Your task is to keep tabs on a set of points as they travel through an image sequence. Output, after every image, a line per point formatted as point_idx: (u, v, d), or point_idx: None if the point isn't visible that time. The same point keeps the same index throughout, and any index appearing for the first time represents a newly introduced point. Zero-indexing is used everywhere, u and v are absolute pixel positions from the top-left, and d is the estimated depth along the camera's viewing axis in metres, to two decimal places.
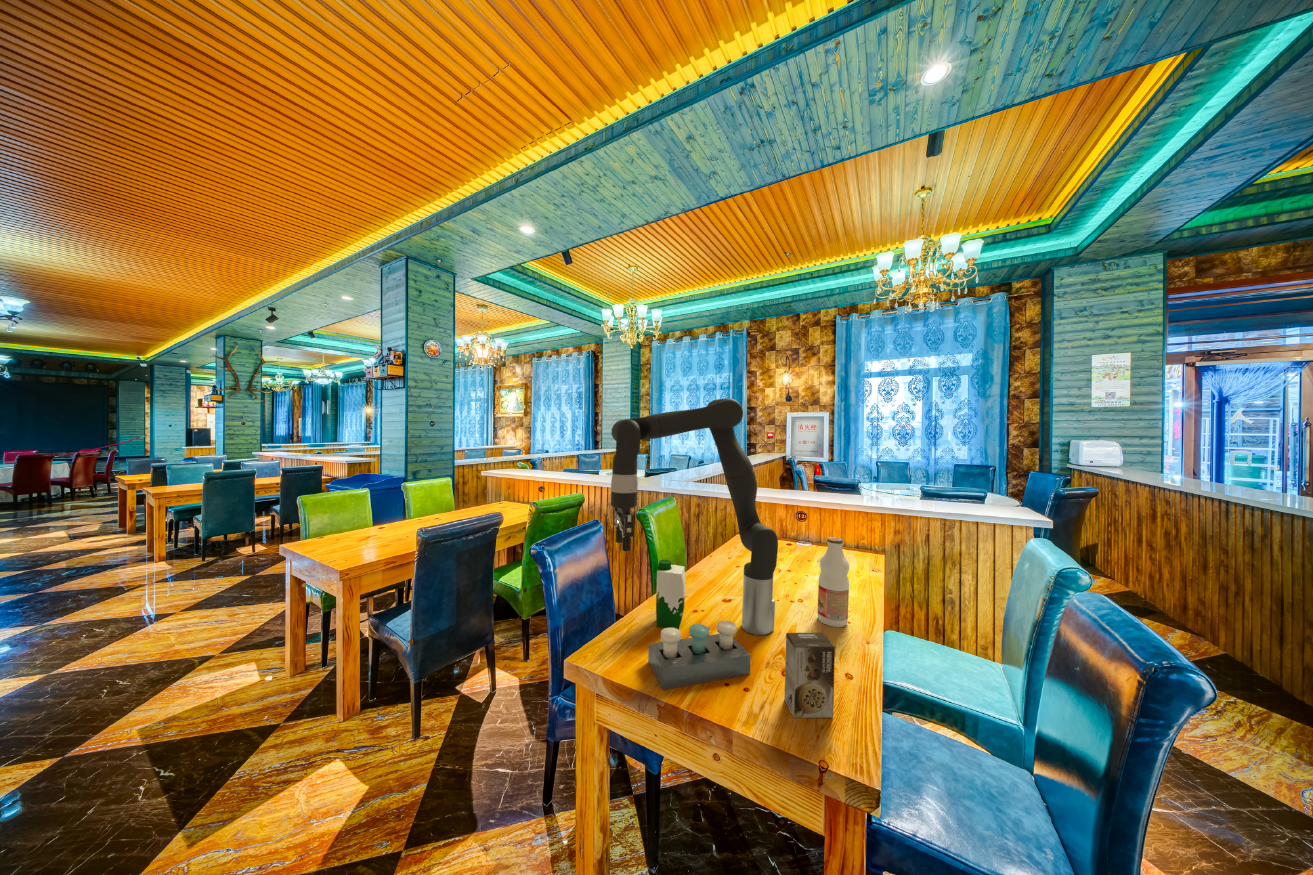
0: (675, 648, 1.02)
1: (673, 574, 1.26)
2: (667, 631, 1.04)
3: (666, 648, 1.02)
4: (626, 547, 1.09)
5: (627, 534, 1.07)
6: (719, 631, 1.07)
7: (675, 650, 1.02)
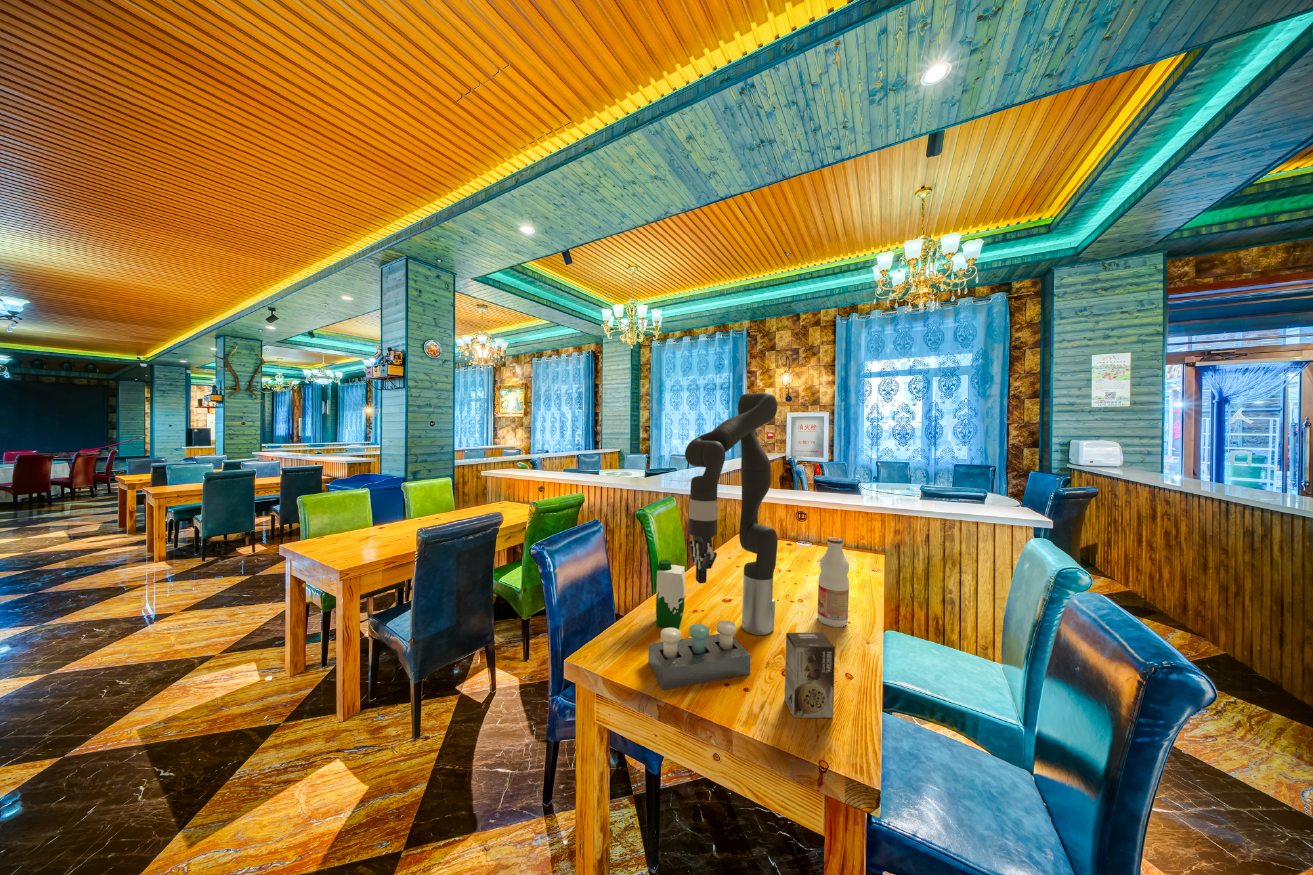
0: (675, 648, 1.02)
1: (673, 574, 1.26)
2: (667, 631, 1.04)
3: (666, 648, 1.02)
4: (702, 579, 1.04)
5: (705, 566, 1.02)
6: (719, 631, 1.07)
7: (675, 650, 1.02)
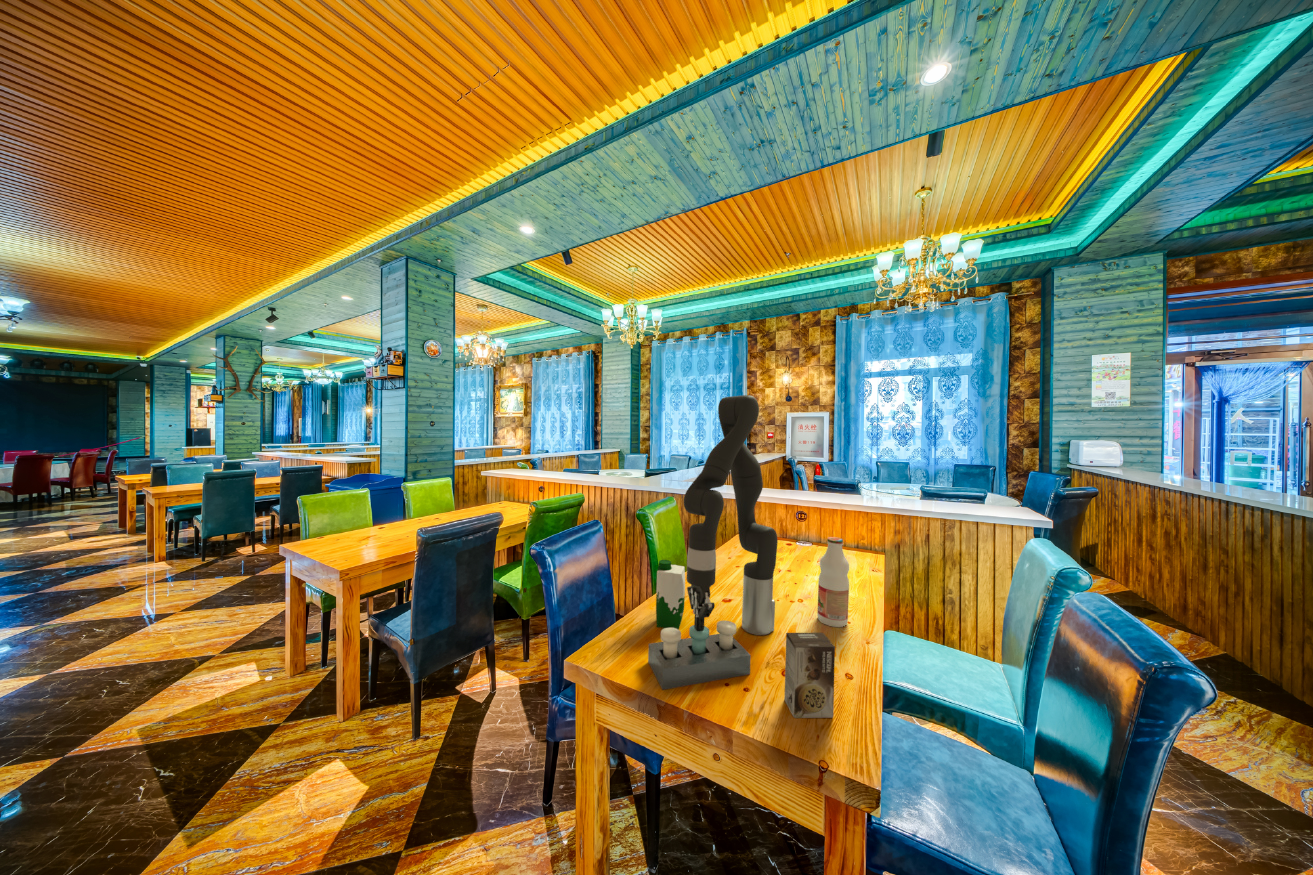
0: (675, 648, 1.02)
1: (673, 574, 1.26)
2: (667, 631, 1.04)
3: (666, 648, 1.02)
4: (700, 627, 1.05)
5: (703, 615, 1.03)
6: (719, 631, 1.07)
7: (675, 650, 1.02)
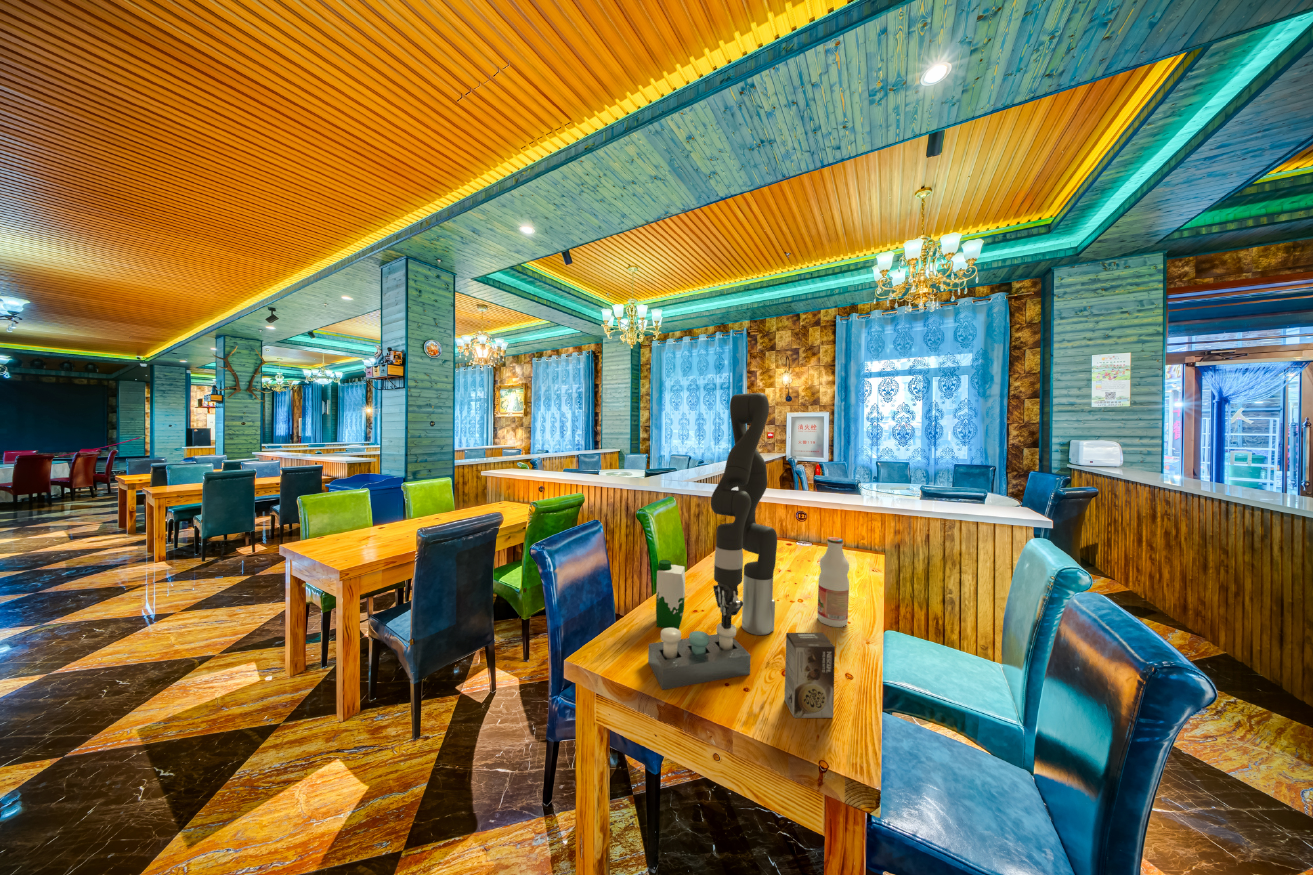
0: (675, 648, 1.02)
1: (673, 574, 1.26)
2: (667, 631, 1.04)
3: (666, 648, 1.02)
4: (727, 625, 1.07)
5: (730, 613, 1.05)
6: (719, 633, 1.07)
7: (675, 650, 1.02)
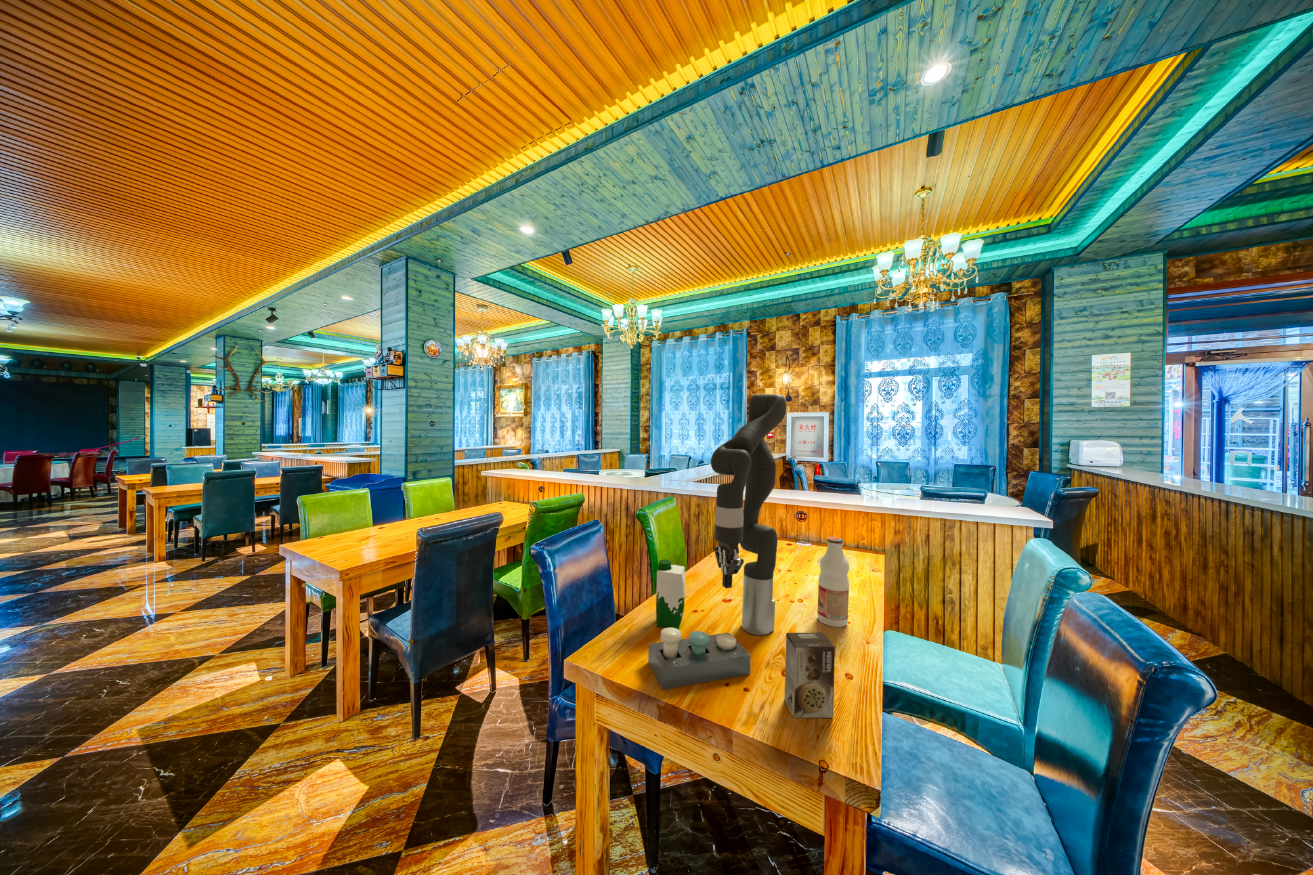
0: (675, 648, 1.02)
1: (673, 574, 1.26)
2: (667, 631, 1.04)
3: (666, 648, 1.02)
4: (728, 584, 1.07)
5: (731, 571, 1.05)
6: (719, 645, 1.07)
7: (675, 650, 1.02)
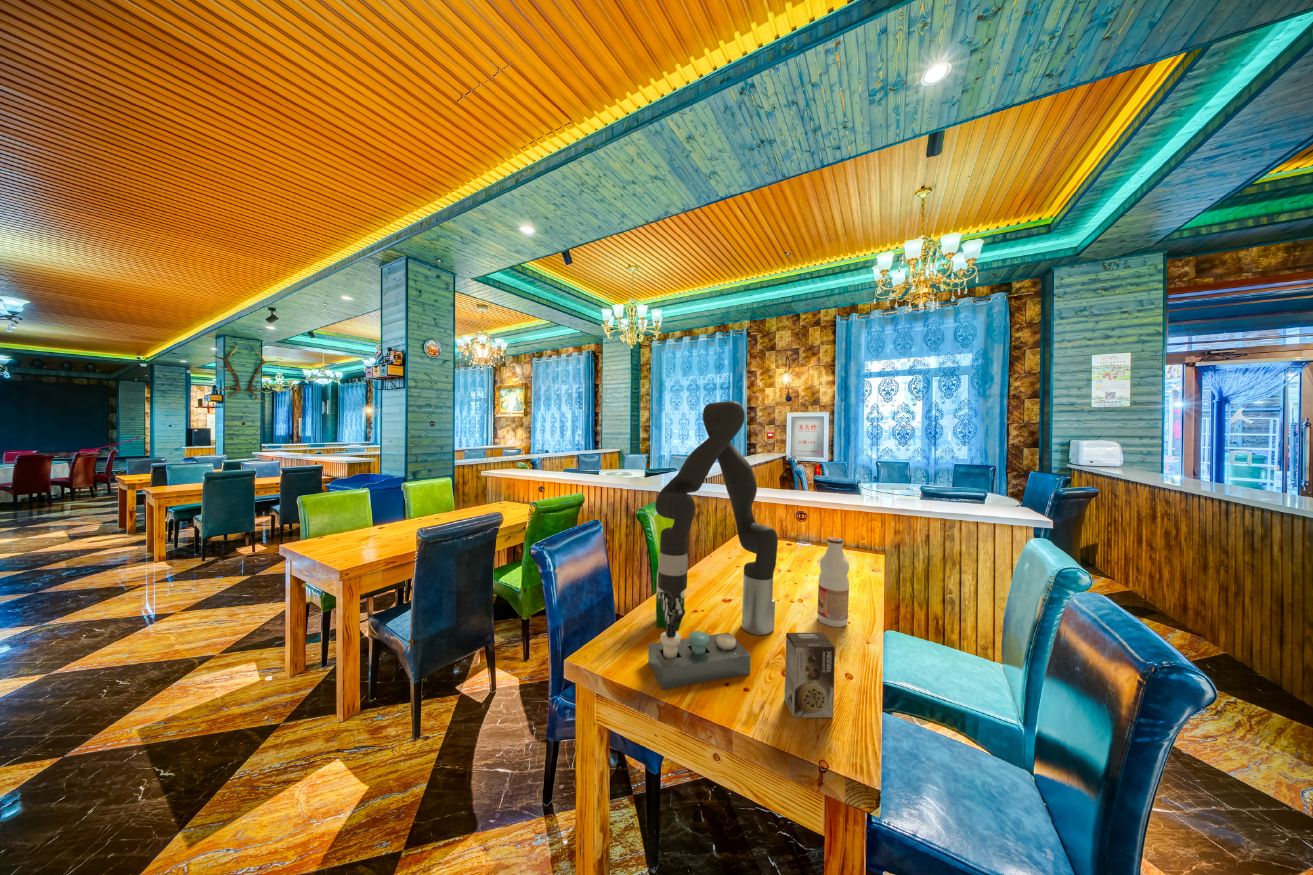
0: (675, 652, 1.02)
1: None
2: None
3: (666, 651, 1.02)
4: (671, 633, 1.02)
5: (673, 621, 1.00)
6: (719, 645, 1.07)
7: (675, 654, 1.02)
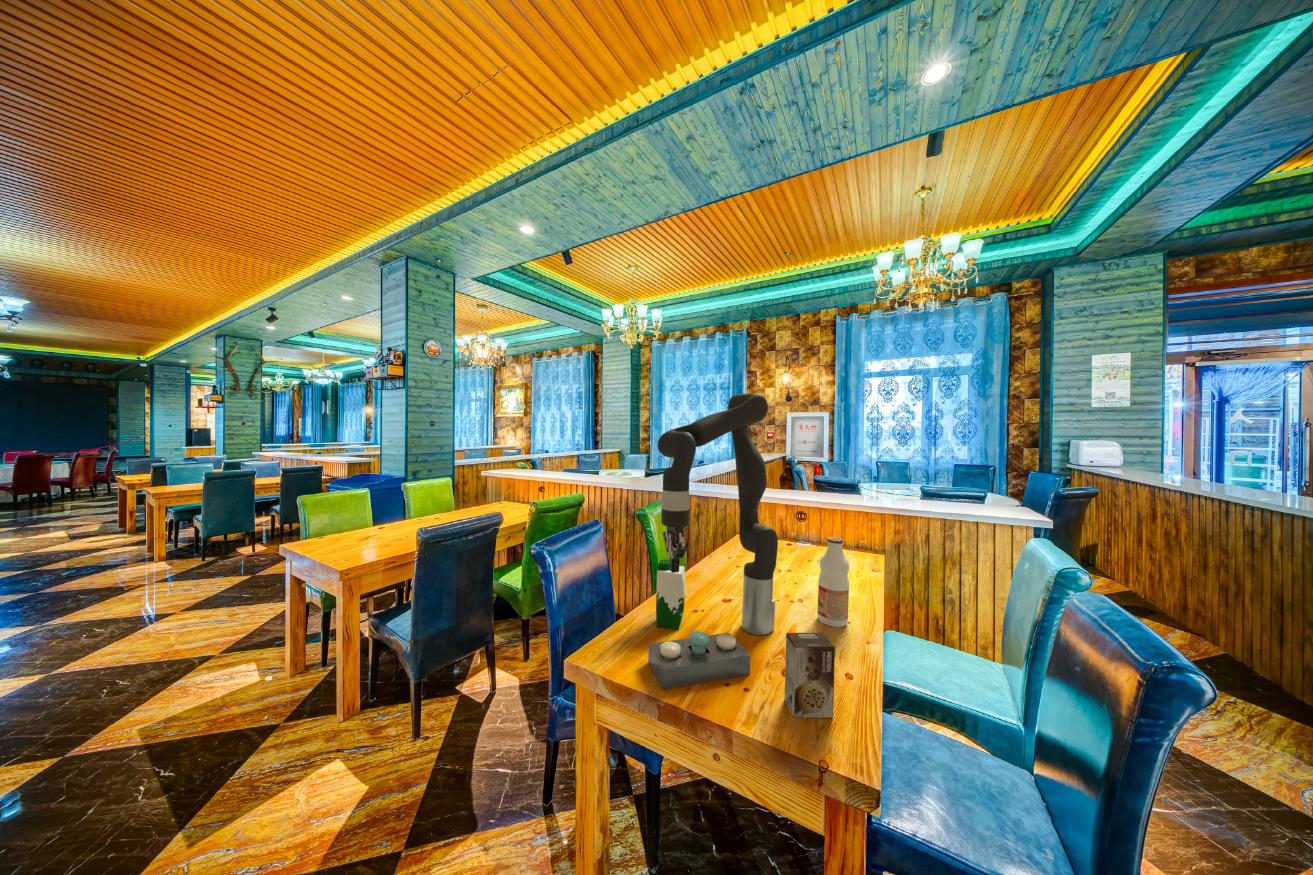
0: None
1: (673, 574, 1.26)
2: (667, 645, 1.04)
3: None
4: (675, 568, 1.06)
5: (677, 555, 1.04)
6: (719, 645, 1.07)
7: None
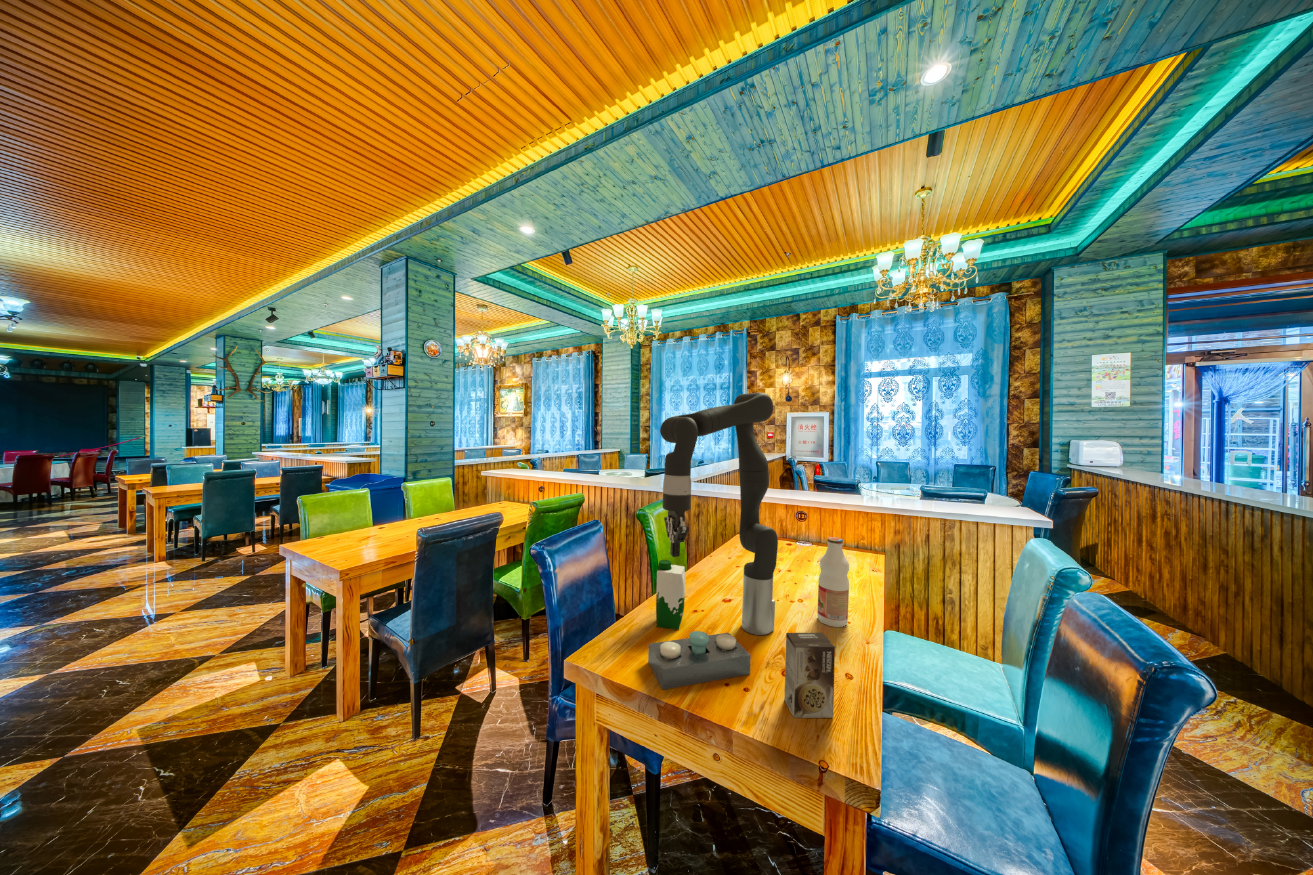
0: None
1: (673, 574, 1.26)
2: (667, 645, 1.04)
3: None
4: (676, 553, 1.06)
5: (678, 539, 1.04)
6: (719, 645, 1.07)
7: None
